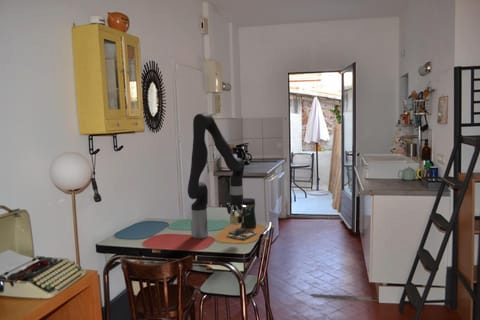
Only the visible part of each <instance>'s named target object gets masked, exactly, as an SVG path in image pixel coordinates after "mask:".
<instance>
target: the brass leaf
mask: <svg viewBox="0 0 480 320" xmlns="http://www.w3.org/2000/svg"><path fill="white" fill-rule="evenodd" d="M229 215H230V216H229V220H230V221H229V222H230V223H229V224H230V225H233V226H238V225H241V223H239V214H238V212H235V214H233V215H231V214H229ZM243 222H244V216H243ZM243 222H242V223H243Z"/></svg>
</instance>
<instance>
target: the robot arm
mask: <svg viewBox="0 0 480 320" xmlns="http://www.w3.org/2000/svg"><path fill="white" fill-rule="evenodd" d="M192 120H193V121H192V122H193V124H192V130H193V131H192V133H193V138H192V151H191V160H190V161H191V163H190V164H191V165H190V173H189V177H188V178H189V180H188V185H187V196H188V197H189V198H190V199H191V200H195V201H194V202H193V203H192V204H191V207H190V208H191V221H190V231H191V232H190V233H191V237H192V238H193V239H199V240H200V239H205V238H207V237H209V228H208V227H209V226H208V225H209V224H208V211H207V210H208V209H207V206H208V203H209V201H208V200H209V199H208V198H209V197H208V196H209V195H208V194H209V191H208V187H207V186H208V185H207V184H206V182H202V181H200V177H201V175H202V173H203V172H204V170H205V168H206V166H207V163H208V159H209V158H208V155H209V151H208V146H207V144H206V138H205V137H206V131H207V132H208V133H209V134H210V136H211V137H212V140H213V142H214V146H215V148H216V150H217V152H218V153H219V154H220V156H221V157H222V158H223V160H224V162H225V165H226V167H227V168H228V169H229V171H231V172H232V173H231V175H230V179H229V181H230V182H229V184H230V186H229V201H230V202H228V203H226V204H225V206H226V210H227V213H228V214H229V215H233V214H235V213H238V214H239V223H242V222H243V216H245V215H246V212H247V208H248V206H244V205H243V198H244V187H243V186H244V185H243V182H244V181H243V177H244V171H245V163H244V160H243V159H242V158H240V157H235V155H234V152H235V151H234V150H233V148H232V147H231V146H230V144H229V143H228V142H227V140H226V138H225V136H224V135H223V134H222V132H221V131H220V128H219V127H218V125H217V123H216V121H215V119H214V117H213V116H212V114H211V113H208V112H202V113H197V114H196V115H195V116H194V117H193V119H192ZM242 207H243V210H242Z"/></svg>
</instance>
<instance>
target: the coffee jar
mask: <svg viewBox="0 0 480 320" xmlns="http://www.w3.org/2000/svg"><path fill="white" fill-rule="evenodd" d="M255 200H256V199H255V198H252V197H251V198H249V197H246V198H245V197H243V205H244V206H248V208H247V212H246V215H245V216H244V222H243V223H241V224H240V226H241V227H242V228H255V227H256V226H257V219H256V212H255V211H256V210H255V207H256V201H255ZM242 210H243V207H242Z"/></svg>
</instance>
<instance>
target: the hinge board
mask: <svg viewBox="0 0 480 320" xmlns="http://www.w3.org/2000/svg"><path fill="white" fill-rule="evenodd" d="M253 235H254V236H256V235H257V231H254V230H253V231H252V230H247V227H242V228H236V229H233V230H231V231H229V232H228V234H226V237H227V238H231V237H232V239H236V238H237V239H238V240H242V239H244V240H243V241H245V239H246V240H247V238H248V239H249V237H250V238H252V237H253ZM251 236H252V237H251ZM237 239H236V240H237Z"/></svg>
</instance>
